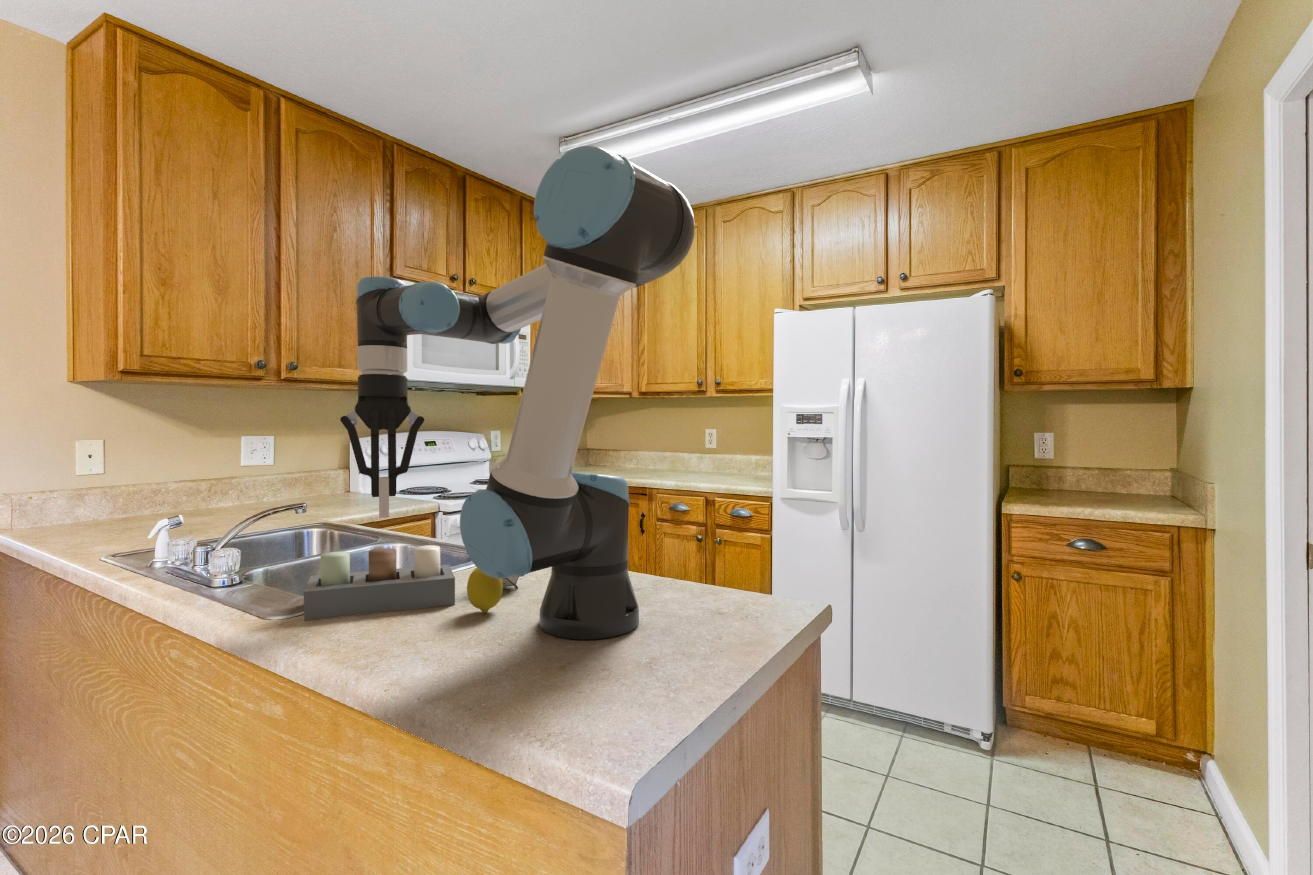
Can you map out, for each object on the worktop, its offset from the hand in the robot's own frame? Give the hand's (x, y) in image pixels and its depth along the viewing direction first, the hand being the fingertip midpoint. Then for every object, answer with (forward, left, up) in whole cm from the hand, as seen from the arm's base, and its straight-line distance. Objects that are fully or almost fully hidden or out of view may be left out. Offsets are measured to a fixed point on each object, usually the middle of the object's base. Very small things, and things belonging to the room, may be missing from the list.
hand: (384, 516), depth 104 cm
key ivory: (0, -7, -13) cm, 14 cm away
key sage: (0, +7, -13) cm, 15 cm away
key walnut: (0, 0, -13) cm, 13 cm away
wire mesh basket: (+2, -20, -15) cm, 25 cm away
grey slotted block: (0, 0, -15) cm, 15 cm away
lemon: (-11, -15, -15) cm, 24 cm away
